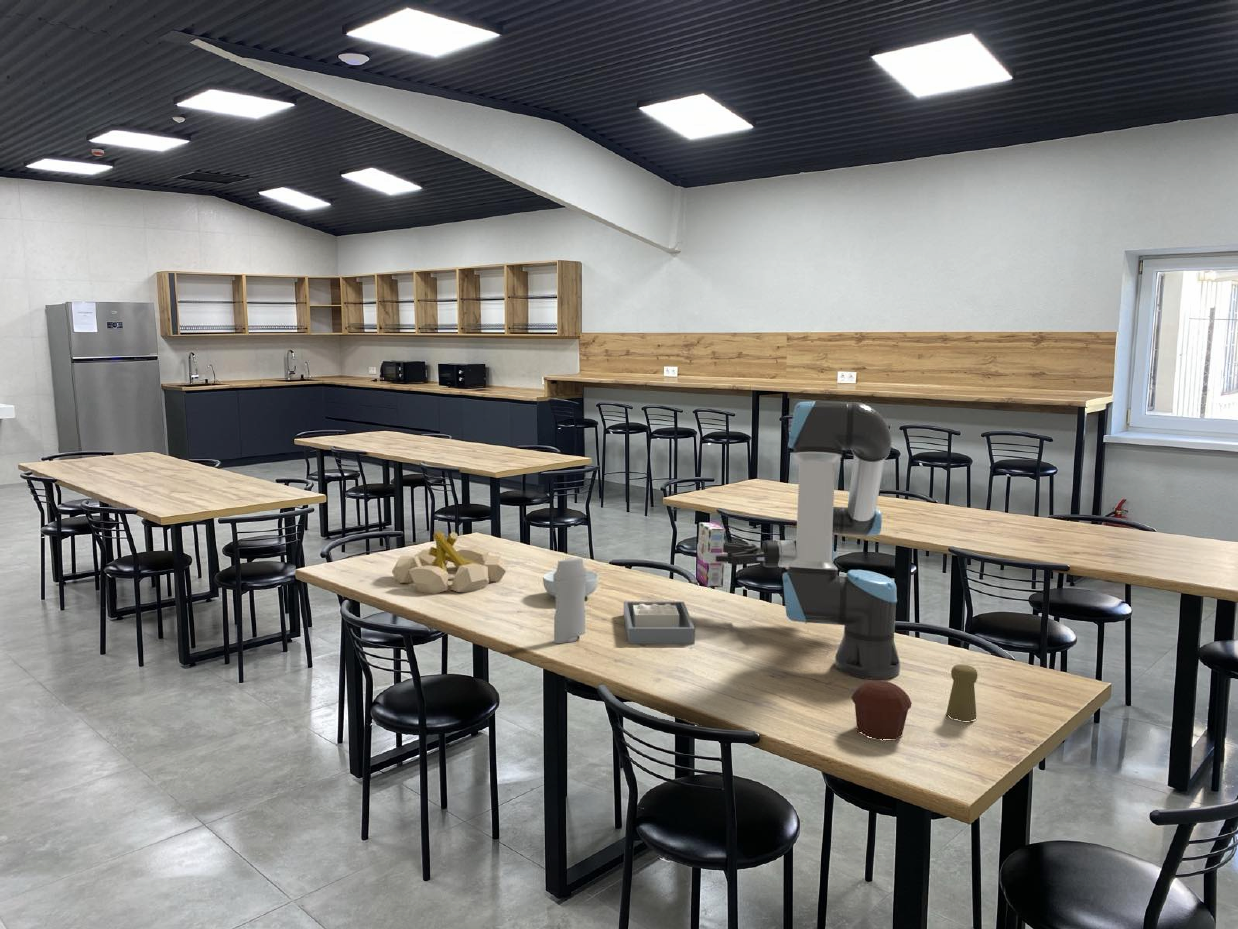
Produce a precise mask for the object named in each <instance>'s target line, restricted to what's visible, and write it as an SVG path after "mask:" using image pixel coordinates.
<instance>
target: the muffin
mask: <svg viewBox="0 0 1238 929" xmlns="http://www.w3.org/2000/svg"><path fill="white" fill-rule="evenodd" d="M850 700H851V701H852V702H853V704H854V710H855V719H856V720H855V723H856V728H857V727H858V728H857V731H859V732H862V733H863V734H865V735H866V736H869V737H872V738H876V739H882V740H883V739H896V738H897V737H899V736H901V735H902V736H903V733H904V728H905V724H906V721H907V716H908V711H909V710H910V709H911V707H912V705H913V703H912V701H911V699H910V696H909V695H908V693H906V692H905V690H904V689H902V688H901V687H900V686H898V685H897V684H895V683H892V682H890V681H885V680H871V681H868V682H866V683H863V684H862V683H861V685H859V686H858V687H857V688H856V689H855V690H854V692H853V693H852V695H851V697H850ZM866 736H865V737H866ZM902 736H901V737H902ZM899 738H900V737H899ZM876 739H875V740H876ZM897 739H898V738H897ZM897 739H896V740H897Z"/></svg>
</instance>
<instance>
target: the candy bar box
mask: <svg viewBox="0 0 1238 929" xmlns="http://www.w3.org/2000/svg"><path fill="white" fill-rule="evenodd" d="M726 534H727V533H726V529H725V528H724V527H722V526H720V525H719V524H718V523H716V522H699V523H698V540H697V541H698V542H697V544H698V553H697V562H696V563H697V565H696V579H697V580H698V581H699V582H700V583H702V584H703V585H704V586H705V588H724V587H723V586H724V572H725V571H724V570H725V563H703V553H725V543H726Z"/></svg>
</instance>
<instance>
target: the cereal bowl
mask: <svg viewBox="0 0 1238 929" xmlns="http://www.w3.org/2000/svg"><path fill="white" fill-rule="evenodd" d="M555 572H556V570H551V571H549V572H546V573H545V574H543V576H542V583H543V586H544V590H545V591H546V592H547V593H548V594H549V595H551V596H553V597H555V591H556V589H555V588H554V584H553V575H554V573H555ZM599 580H600V579H599V574H598V573H597V572H595V571H593V570H588V569H587V581H586V583H585V585H584V586H585V592H584V593H585V594H584V595H585V597H587V596H591V595H592V594H593V593H594V592H595V591H596V590H597V589H598V586H599ZM585 597H584V598H585Z"/></svg>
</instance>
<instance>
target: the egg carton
mask: <svg viewBox="0 0 1238 929" xmlns="http://www.w3.org/2000/svg"><path fill="white" fill-rule="evenodd" d="M633 621H634V626H635V627H679V613H678V610H677V608H676V605H671V604H665V605H658V604H652V605H645V604H639V605H633Z"/></svg>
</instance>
